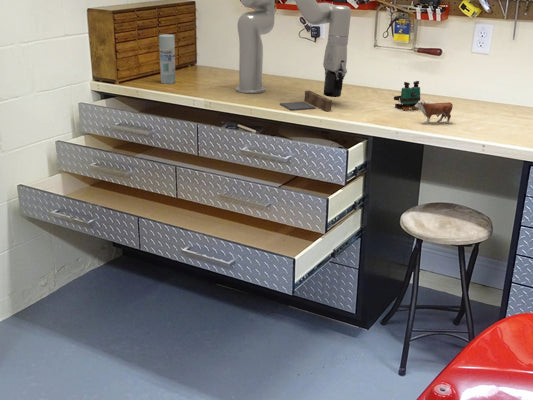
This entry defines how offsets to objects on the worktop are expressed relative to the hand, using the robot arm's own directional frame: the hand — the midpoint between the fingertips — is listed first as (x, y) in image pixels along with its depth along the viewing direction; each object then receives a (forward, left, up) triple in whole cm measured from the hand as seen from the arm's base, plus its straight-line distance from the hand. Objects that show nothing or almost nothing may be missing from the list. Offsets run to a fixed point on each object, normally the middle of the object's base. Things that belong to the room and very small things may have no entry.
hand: (333, 86), depth 244 cm
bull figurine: (+37, +20, -7) cm, 42 cm away
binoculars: (+15, +24, -7) cm, 29 cm away
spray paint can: (-57, -49, -7) cm, 76 cm away
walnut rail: (+2, -7, -6) cm, 10 cm away
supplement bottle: (0, 0, -4) cm, 4 cm away
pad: (+1, -15, -6) cm, 17 cm away
